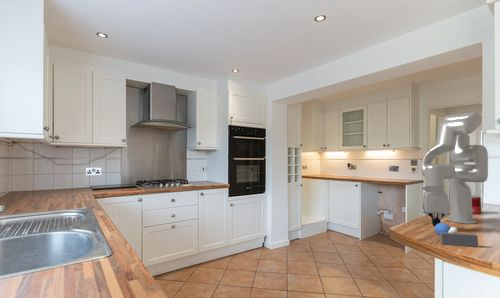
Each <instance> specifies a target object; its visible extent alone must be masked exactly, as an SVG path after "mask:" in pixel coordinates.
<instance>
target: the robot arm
mask: <svg viewBox="0 0 500 298" xmlns="http://www.w3.org/2000/svg"><path fill="white" fill-rule="evenodd" d="M482 119H483V118H482V115H481V114H480V112H477V111H471V112H463V113H455V114H449V115H446V116H444V117H442V119H441V122H440V123H439V125H438V129H437V130H438V131H437V135H436V141H435V145H434V146H433V147H432V148H431V149H429V150H428V151H427V153H426V154H425V155H424V156H423V159H422V162H421V169H420V170H421V171H420V172H421V175H422V176H423V177H424V181H425V184H424V185H425V186H422V188H421V189H422V191H424V193H423V198H422V210H423V211H422V213H423V215H426V216H429V217H430V219H431V224H432V226H433V227H434V228H435V226H436V225H437V224H438V223H441V220H442V218H444V217H446V216H447V218H446V220H447V221H450V222H453V223H458V224H469V225H471V224H477V220H476V219H475V218H473V215H474V214H472V197H471V195H472V189H471V187H470V186H469V185H468V184H467V183H485V182H487V180H488V177H489V154H488V153H489V152H488V149H487V147H486V146H484V145H482V144H471V143H470V142H471V140H470V139H471V137H470V134H472V133H474V132H475V131H476V130H477V129H478V128H480V126H481V124H482ZM447 153H449V156H450V160H451V161H452V162H454V163H456V164H448V163H445V164H444V163H433V162H434V160H435V159H436V158H439V157H440V156H442V155H444V154H447ZM457 163H459V164H457ZM460 163H461V164H460ZM462 163H474V164H462ZM444 180H447V181H448V190H449V192H448V193H449V197H448V194H447V192H445V181H444Z"/></svg>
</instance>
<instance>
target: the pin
mask: <svg viewBox="0 0 500 298" xmlns="http://www.w3.org/2000/svg"><path fill="white" fill-rule="evenodd" d="M458 231H459V230H458V228H457V227H456V226H451V227H450V230H449V231H448V233H458Z"/></svg>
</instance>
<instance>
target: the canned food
mask: <svg viewBox="0 0 500 298" xmlns="http://www.w3.org/2000/svg"><path fill="white" fill-rule="evenodd" d="M471 197H472V214H473V215H477V214H478V215H481V214H482V203H481V201H482V199H481V196H480V195H474V194H473V195H472V194H471Z"/></svg>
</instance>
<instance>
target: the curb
mask: <svg viewBox="0 0 500 298" xmlns="http://www.w3.org/2000/svg"><path fill="white" fill-rule="evenodd" d="M478 238H479V237H478V235H477V234H475V233H460V232H457V233H446V232H440V235H439V240H440V241H439V242H440V244H441V245H446V246H457V247H469V248H470V247H471V248H479V239H478Z"/></svg>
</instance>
